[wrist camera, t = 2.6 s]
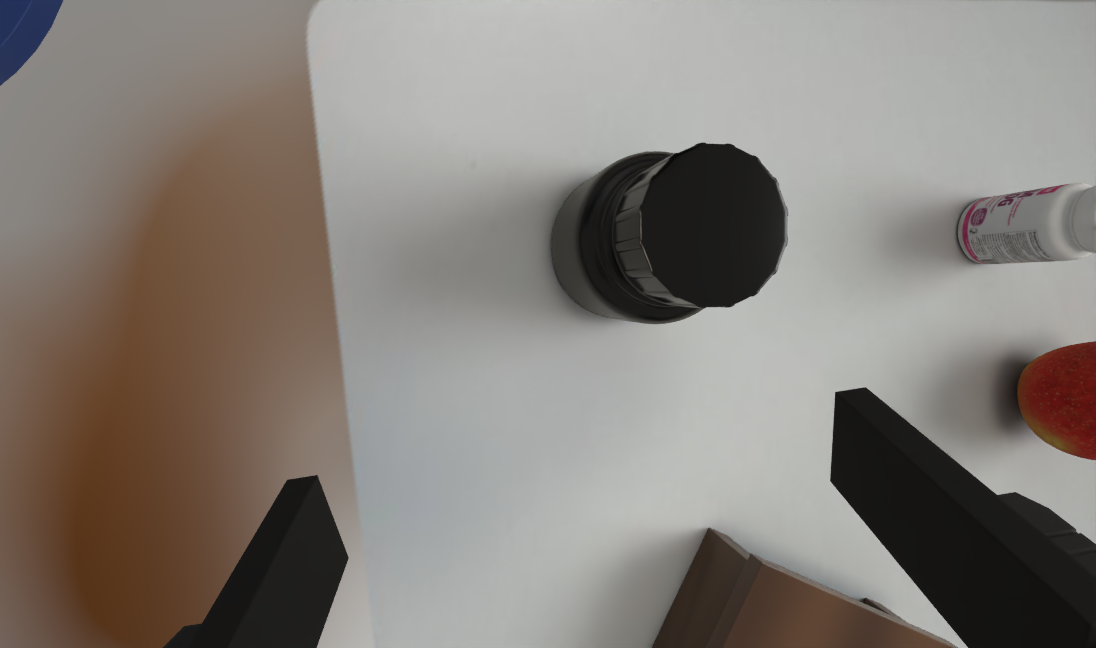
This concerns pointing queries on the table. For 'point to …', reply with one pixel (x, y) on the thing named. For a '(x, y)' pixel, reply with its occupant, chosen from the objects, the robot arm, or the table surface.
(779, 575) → the shelf
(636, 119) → the table surface
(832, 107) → the table surface
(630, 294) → the ink bottle
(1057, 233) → the pill bottle
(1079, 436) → the apple
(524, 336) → the table surface
